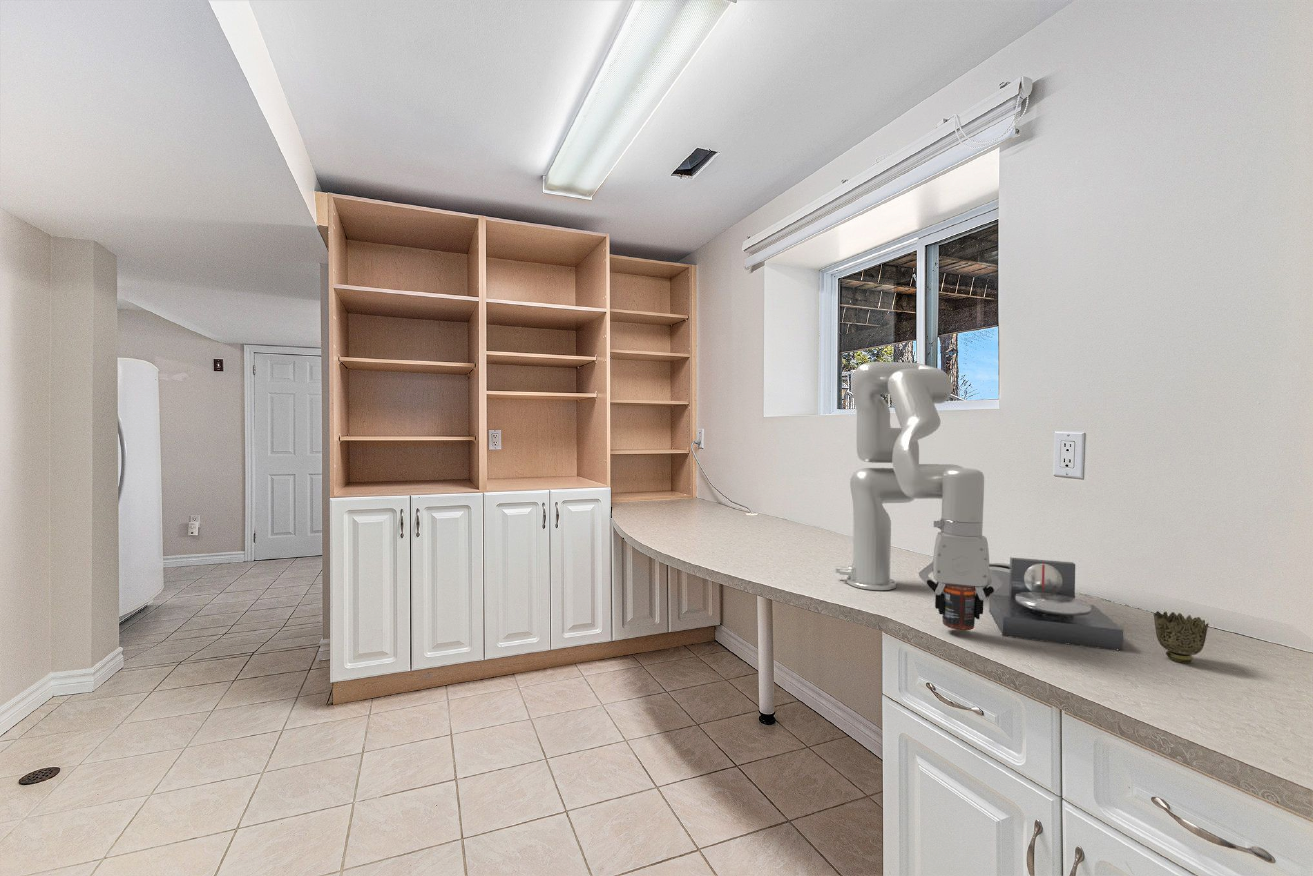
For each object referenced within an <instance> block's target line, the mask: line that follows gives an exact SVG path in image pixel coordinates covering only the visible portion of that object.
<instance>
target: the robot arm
mask: <svg viewBox="0 0 1313 876" xmlns="http://www.w3.org/2000/svg"><path fill="white" fill-rule="evenodd" d="M851 390H852V391H851V392H852V397H853V401H854V403H855V405H854V406H855V409H856V453H857V458H858V459H859V460H860V461H862V462H865V463H872V464H874V463H875V464H879V463H880V464H892V467H864V468H861V469H857V470H856V471H855V472H853V473H852V475H851V477H850V481H849V486H850V487H849V489H850V492H851V493H850V494H851V498H852V499H851V500H852V505H853V506H852V508H853V509H852V510H853V512H852V513H853V514H852V515H853V532H852V534H853V535H852V537H853V538H852V539H853V540H852V543H853V545H852V563H851V566H850V565H848V566H847V567H846V566H843V565H842V566H841V565H836V566H835V573H836V574H839V575H841V576H842V575H843V576H847V577H846V583H847V584H848V585H849V586H853V587H855V588H859V589H862V590H863V589H864V590H869V591H870V590H871V591H890V590H894V589H896V588H897V581H895V580H894V579H892V578H891V557H892V556H891V551H892V549H891V546H892V543H891V540H892V520H891V517H890V515H889V513H888V512H887V510H886V509H885V507H884V505H883V504H905V503H906V504H907V503H911V502H913V501H914V500H915V499H916V500H917V499H918V500H921V499H923V500H924V499H931V500H932V499H934V500H935V499H939V500H941V518H940V519H939V520H933V528H937V529H939V530H940V531H938V532H937V535H936V538H935V544H934V550H933V556H932V557H933V558H932V562H930V563H929V564H928V565H926V566H925V567H924V568H923V569H922V570H920V571H919V572H918V576H919V577H920V579H922V581H924V583H925V584H926V585H927V587H929V588H930V589H931V590H932V591H933V592H934V593H935V599H934V606H935V607H934V609H938V614H939V615H942V616H943V610H944V595H943V589H944V587H945V585H946V584H952V585H961V586H970V587H975V620H980V619H981V618H980V617H981V615H983V614H984V600H986V599H987V597H988V598H989V595H990V594H992V593H993V592H994V591H995V590H997V589H998V588H1000V587H1001V586H1002V585H1003V583H1002V581H1001V580H1000V579H999V578H998V577H997V576H996V575H995V574H994V573H993V572H992V571H991V570H990V569H989V563H990V552H989V544H988V543H989V542H988V539H987V537H986V536H984V535H983V526H984V525H983V523H984V522H983V521H984V501H985V500H984V497H985V496H984V495H985V494H984V493H985V475H984V472H982V471H981V470H979V469H975V468H965V467H964V466H961V465H959V464H952V463H951V464H950V463H949V464H947V463H946V464H944V463H942V464H939V463H920V446H919V440H921V439H923V438H926V437H928V436H930V435H932V434H933V433H935V432H936V431H937V430H938V429H939V427H940V426H941V418H940V415H939V413H938V411H937V408H936V404H944V403H945V402H947V401H948V400H949V399H950V397H951V395H952V393H953V385H952V381H951V378H950V377H949V374H948V373H946V372H945V371H944V370H942V368H941V369H940V368H937V367H934V366H930V365H927V364H923V363H919V362H902V361H901V362H899V361H898V362H897V361H895V362H894V361H871V362H866V363H862V364H861V365H859V366H857V368H856V369H855V371H854V373H853V376H852V380H851ZM881 395H889V397H890V399H891V403H892V407H893V408H894V410H895V415H896V418H897V420H898V423H899V426H900V427H892V426H891V411H890V410H891V409H890V407H889V406H888V404H887V402H886V400H885V399H884V398H883V397H882V396H881ZM930 574H932V575H933V579H934V580H935V581H936V582H935V581H934V580H933V579H932V578H931V577H930V576H929V575H930ZM989 578H990V579H991V580H992V583H991V584H990V585H988V584H989ZM982 587H985V588H983V589H982Z"/></svg>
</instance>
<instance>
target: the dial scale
mask: <svg viewBox="0 0 1313 876" xmlns="http://www.w3.org/2000/svg"><path fill="white" fill-rule="evenodd" d="M1009 564H1010V585H1009V596H1001V595H991V594H990V595H989V596H988V599H989V600H988V601H989V602H988V612H989V613H990V616H991V615H992V616H991V617H993V618H992V619H993V621H994V622H995V625H996V624H997V625H996V626H997V628H998V630H999V632H1000V634H1001V633H1002V634H1001V635H1002V636H1003V637H1008V636H1012V637H1011V638H1016V637H1018V639H1024V638H1027V639H1026V640H1032V639H1034V641H1040V640H1043V641H1042V642H1048V643H1049V642H1050V643H1056V644H1064V643H1067V644H1066V645H1072V644H1073V646H1080V645H1084V646H1083V647H1088V646H1089V648H1090V647H1091V648H1096V647H1099V649H1104V648H1105V649H1106V650H1113V649H1115V650H1114V651H1121V650H1123V651H1124V629H1123V628H1121V626H1119V625H1118V624H1117V623H1116V622H1115V621H1113V620H1112V619H1111V618H1110V617H1109V616H1107V614H1105V613H1104V612H1103V611H1101V610H1100V608H1098V607H1097V606H1095V604H1090V603H1088V602H1086V601H1084V600H1081V599H1079V598H1075V597H1076V563H1074V562H1073V561H1060V560H1048V559H1047V560H1046V559H1033V558H1023V557H1021V558H1020V557H1011V556H1010V557H1009ZM1057 642H1058V643H1057ZM1068 643H1069V644H1068ZM1117 649H1118V650H1117Z"/></svg>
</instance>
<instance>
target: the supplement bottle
mask: <svg viewBox="0 0 1313 876" xmlns="http://www.w3.org/2000/svg"><path fill="white" fill-rule="evenodd" d="M942 592H943V595H944V610H943V614H942V624H943V625H944V626H945V627H947V628H950V629H953V630H956V631H963V632H965V631H966V632H967V631H972V630H973V629H974V628H975V622H976V621H975V620H976V618H975V595H976V590H975V587H970V586H961V585H952V584H946V585H945V587H944V589H943V591H942Z"/></svg>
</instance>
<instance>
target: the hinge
mask: <svg viewBox="0 0 1313 876" xmlns="http://www.w3.org/2000/svg"><path fill="white" fill-rule="evenodd" d="M989 569H990V570H991V571H992V572H993V573H994V574H995V575H996V576H997V577H998V578H999V579H1000V580H1001V581H1002V583H1003V585H1002V586H1001V587H1000V588H998V589H997V590H995V591H994V592H993V593H992V594H991V595H1001V596H1009V585H1010V563H1009V564H1008V563H1001V562H991V563H990V562H989ZM991 583H992V580H991V579H990V578H989V584H988V585H990V584H991ZM983 588H985V587H982V589H983Z"/></svg>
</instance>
